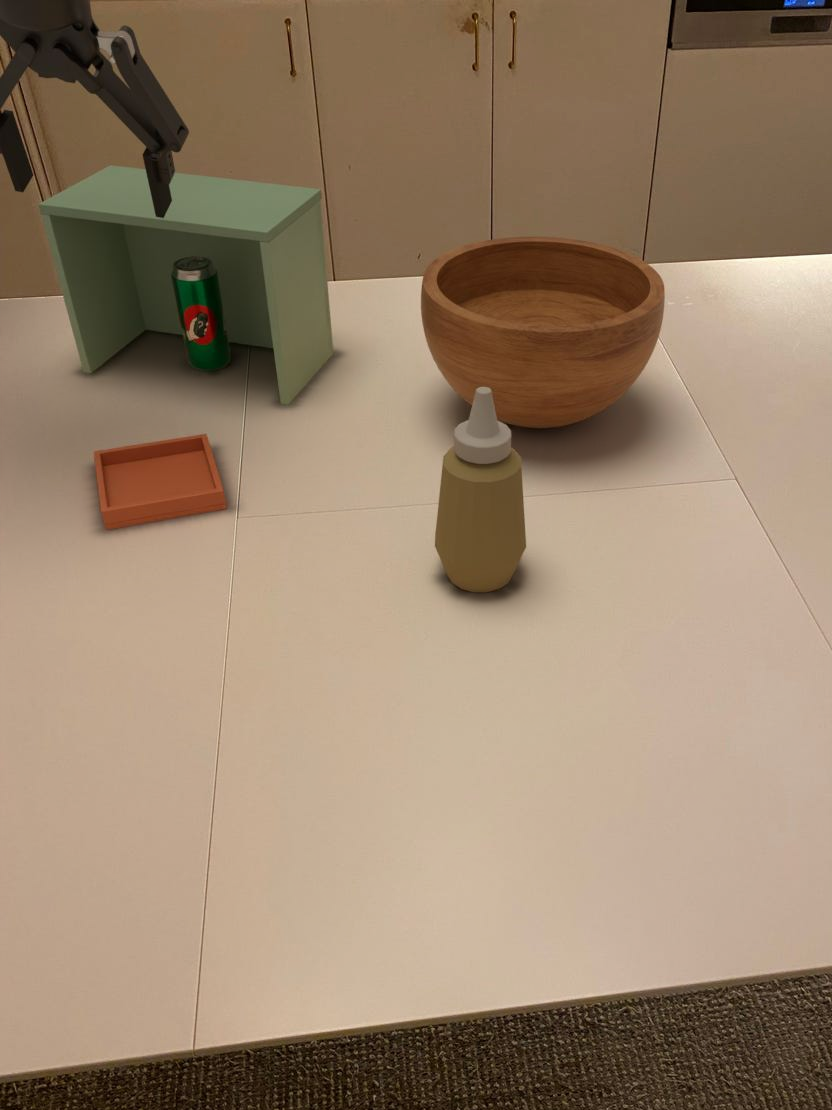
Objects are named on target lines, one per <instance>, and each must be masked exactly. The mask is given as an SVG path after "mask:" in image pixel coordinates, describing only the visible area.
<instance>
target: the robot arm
mask: <svg viewBox="0 0 832 1110" xmlns="http://www.w3.org/2000/svg"><path fill="white" fill-rule="evenodd" d="M0 37H1V38H2V40H3V41H5V43H6V44H7V45H8V46H9V47H10V48H11V49H12V51H13V52H14V55H13V56H12V58H11V59H10V61H9V62H8V64H7V66H6V67H5V69H4V71H3V72H2V74H1V76H0V154H1V155H2V157H3V160H4V163H5V166H6V168H7V172H8V175H9V178H10V180H11V183H12V186H13V188H14V190H15V192H18V193H24V192H25V190H27V189H26V188H27V187H28V185H29V184H30V182H31V180H32V178H33V177H34V172H33V169H32V165H31V163H30V160H29V157H28V154H27V150H26V148H25V147H26V146H25V145H24V142H23V139H22V135H21V133H20V129H19V127H18V123H17V119H16V117H15V114H14V111H13V110H8V109H3V111H2V108H3V107H4V105H5V103H6V102H7V101H8V99H9V97H10V96H11V94H12V92H13V91H14V89H15V87H16V86H17V85H18V83H19V81H20V80H21V79H22V77H23V75H24V74H25V72H26V71H27V69H28V68H29V69H30V70H31V71H32V72H34V73H35V74H37V75H38V78H41V79H58V80H60V81H63V82H65V83H70V84H75V83H76V82H78V83H79V84H80V85H81V86H82V88H83V89H84V90H86V91H87V92H88V93H89V94H91V95H96V96H97V97H98V99H100V100H101V102H102V103H104V104H105V106H106V107H107V108H108V109H109V110H110V111H111V112H112V113H113V114H114V115H115V116H116V117H117V118H118V119H119V120H120V121H121V122H122V124H124V125H125V127H126V128H128V130H129V131H130V132H132V134H133V135H134V136H135V137H136V138H137V139H138V140H139V141H140V142H141V143H142V144H143V146H144V147H145V149H144V151H143V153H142V159H143V164H144V169H146V174H147V178H148V183H149V187H150V192H151V197H152V201H153V206H154V210H155V215H156V217H159V218H164V216H165V214H166V212H167V210H168V208H169V206H170V204H171V202H172V197H171V192H170V187H169V184H170V182H171V180H172V178H173V176H174V173H176V168H175V162H174V157H173V152H174V153H180V152H181V151H182V148H183V147H184V144H185V143H186V141H187V138H188V136H189V134H190V130H189V128H188V126H187V124H186V123H185V121H184V120H183V118H182V117H181V116H180V114H179V112H178V111H177V109H176V108H175V106H174V104H173V102H172V101H171V99H170V98H169V97H168V95H167V93H166V92H165V90H164V88H163V87H162V85H161V84H160V82H159V80H158V79H157V77H156V75H155V74H154V73H153V71H152V69H151V67H150V66H149V65H148V63H147V61H146V60H145V58H144V57H143V55H142V53H141V51H140V47H139V43H138V40H137V38H136V37H137V36H136V34H135V31H134V30H133V29H132V28H131V27H130V26H129V25H122V26H120V28H119V30H118V31H111V30H109V31H108V30H100V28H99V26H98V25H97V24H96V22H95V20H94V18H93V15H92V5H91V0H0ZM101 50H102V51H104V52H105V53H106V54H107V55H108V57H109V59H108V58H107V57H106V56H105V55H104V54H103V52H101ZM112 64H113V65H116V67H117V70H118V71H119V74H120V76H121V77H122V79H121V77H119V75H117V73H116V72H115V71H114V67H113V65H112ZM91 66H93V67H94V69H95V72H94V73H93V74H92V73H91V71H89V70H90V68H91Z"/></svg>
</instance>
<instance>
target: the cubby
mask: <svg viewBox="0 0 832 1110" xmlns="http://www.w3.org/2000/svg"><path fill="white" fill-rule="evenodd" d="M169 187H170V192H171V197H172V202H171V204H170V206H169V208H168V210H167V212H166V214H165V216H164V218H159V217H156V215H155V210H154V206H153V201H152V197H151V192H150V187H149V183H148V178H147V174H146V169H145V168H138V167H127V166H121V165H119V166H118V165H108V166H107V167H105V168H103V169H101V170H99V171H96V173H94V174H92V175H90V176H88V177H86V178H85V179H83V180H81V181H79V182H77V183H75V184H73V185H71V186H70V187H68V188H65V189H64V190H62V191H60V192H59V193H56V194H55V195H53V196H51V197H48V198H47V199H45V200H43V201H41V202H40V203H38V204H37V206H38V209H39V212H40V217H41V219H42V223H43V227H44V231H45V234H46V238H47V242H48V245H49V249H50V254H51V257H52V261H53V264H54V267H55V268H54V269H55V271H56V275H57V279H58V282H59V287H60V290H61V293H62V298H63V301H64V304H65V309H66V312H67V315H68V319H69V323H70V327H71V330H72V334H73V337H74V341H75V346H76V349H77V352H78V356H79V360H80V363H81V368H82V371H83V373H86V374H92V373H93V372H95V371H96V370H97V369H99V368H100V367H101V366H102V365H104V364H105V363H106V362H107V361H108V360H110V359H111V358H112V357H113V356H115V354H117V353H118V352H120V351H121V350H122V349H124V348H125V347H126V346H128V345H129V344H130V343H131V342H132V341H134V340H135V339H136V338H137V337H138V336H140V335H141V334H142V333H144V332H145V331H153V332H158V333H159V332H160V333H166V334H172V335H173V334H174V335H180V336H183V335H182V329H181V324H180V319H179V314H178V309H177V303H176V298H175V293H174V288H173V283H172V278H171V273H172V271H173V263H174V262H175V261H177V260H179V259H182V258H185V257H195V256H197V257H205V258H208V259H210V260H211V261H212V263H213V266H214V267H215V269H216V270H217V273H218V279H219V285H220V292H221V298H222V304H223V310H224V316H225V323H226V329H227V335H228V341H229V343H234V344H239V345H248V346H255V347H261V348H267V349H272V350H273V355H274V363H275V370H276V379H277V387H278V393H279V394H278V395H279V402H280V404H283V405H288V406H289V405H290V404H291V402H292V401H293V400H294V399H295V398H296V397H297V396H298V395H299V393H300V392H301V391H302V390H303V389H304V388H305V387H306V386H307V384H308V383H309V382H310V381H311V380H312V379H313V378H314V377H315V375H316V374H317V373H318V372H319V371H320V370H321V368H322V367H323V366H324V365H325V364H326V363H327V362H328V361H329V360H330V358H331V357H332V356H333V355H334V354H335V352H334V343H333V342H334V341H333V330H332V329H333V328H332V319H331V317H332V316H331V306H330V295H329V294H330V293H329V284H328V283H329V282H328V272H327V262H326V252H325V251H326V250H325V249H326V248H325V237H324V227H323V215H322V214H323V213H322V203H321V200H322V199H323V191H322V189H320V188H314V187H306V186H297V185H288V184H287V185H286V184H278V183H269V182H261V181H252V180H244V179H235V178H224V177H218V176H207V175H199V174H191V173H190V174H189V173H181V172H175V173H174V176H173V178H172V180H171V182H170V184H169Z"/></svg>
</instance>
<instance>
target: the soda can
mask: <svg viewBox="0 0 832 1110" xmlns="http://www.w3.org/2000/svg"><path fill="white" fill-rule="evenodd" d="M171 278H172V283H173V288H174V293H175V298H176V303H177V309H178V314H179V319H180V324H181V329H182V335H181V336H182V340H183V344H184V349H185V354H186V360H187V363H188V365H189V366H191V367H192V368H193V369H194V370H197V371H201V372H215V371H219V370H221V369H224V368H225V367H227V366H228V364H229V363H230V361H231V359H232V355H231V354H232V353H231V349H230V342H229V341H228V335H227V329H226V323H225V316H224V310H223V304H222V298H221V292H220V285H219V279H218V273H217V270H216V269H215V267H214V266H213V263H212V261H211V260H210V259H208V258H205V257H197V256H195V257H185V258H182V259H179V260H177V261H175V262H174V263H173V271H172V273H171Z"/></svg>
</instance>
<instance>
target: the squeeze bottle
mask: <svg viewBox="0 0 832 1110" xmlns="http://www.w3.org/2000/svg"><path fill="white" fill-rule="evenodd" d="M453 434H454V435H453V446H452V447H450V448H449V449H448V450H447V451H446V452H445V453H444V455H443V456H442V466H441V467H442V468H441V477H440V486H439V495H438V503H437V504H438V506H437V515H436V525H435V533H434V548H435V550H436V552H437V554H438V557H439V559H440V562H441V564H442V567H443V569H444V571H445V574H446V576H447V577H448V579H449V580H450V583H452V584H453V585H455V586H456V587H458V588H459V589H461V590H464V591H466V592H467V591H468V592H470V593H471V592H472V593H489V592H492V591H493V592H494V591H497V590H500V589H502V588H503V587H505V586H506V585H508V584H509V583H510V581H511V580H512V577H513V575H514V573H515V571H516V569H517V567H518V565H519V563H520V561H521V559H522V557H523V555H524V553H525V551H526V548H527V536H526V535H527V534H526V519H525V503H524V488H523V487H524V485H523V473H522V472H523V469H522V456H521V455H519V453H518V452H517V450H515V449H514V448H513V447H512V430H511V429H510V428H509V426H508V425H507V423H505V422H502V421H499V420H497V416H496V411H495V407H494V402H493V397H492V392H491V389H490V388H488V387H479V388H477V389H476V393H475V397H474V401H473V405H471V409H470V413H469V416H468V420H467V419H466V420H465V421H463V422H461V423H459V424H458V425H457V426H456V427H455V429H454V431H453Z"/></svg>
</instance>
